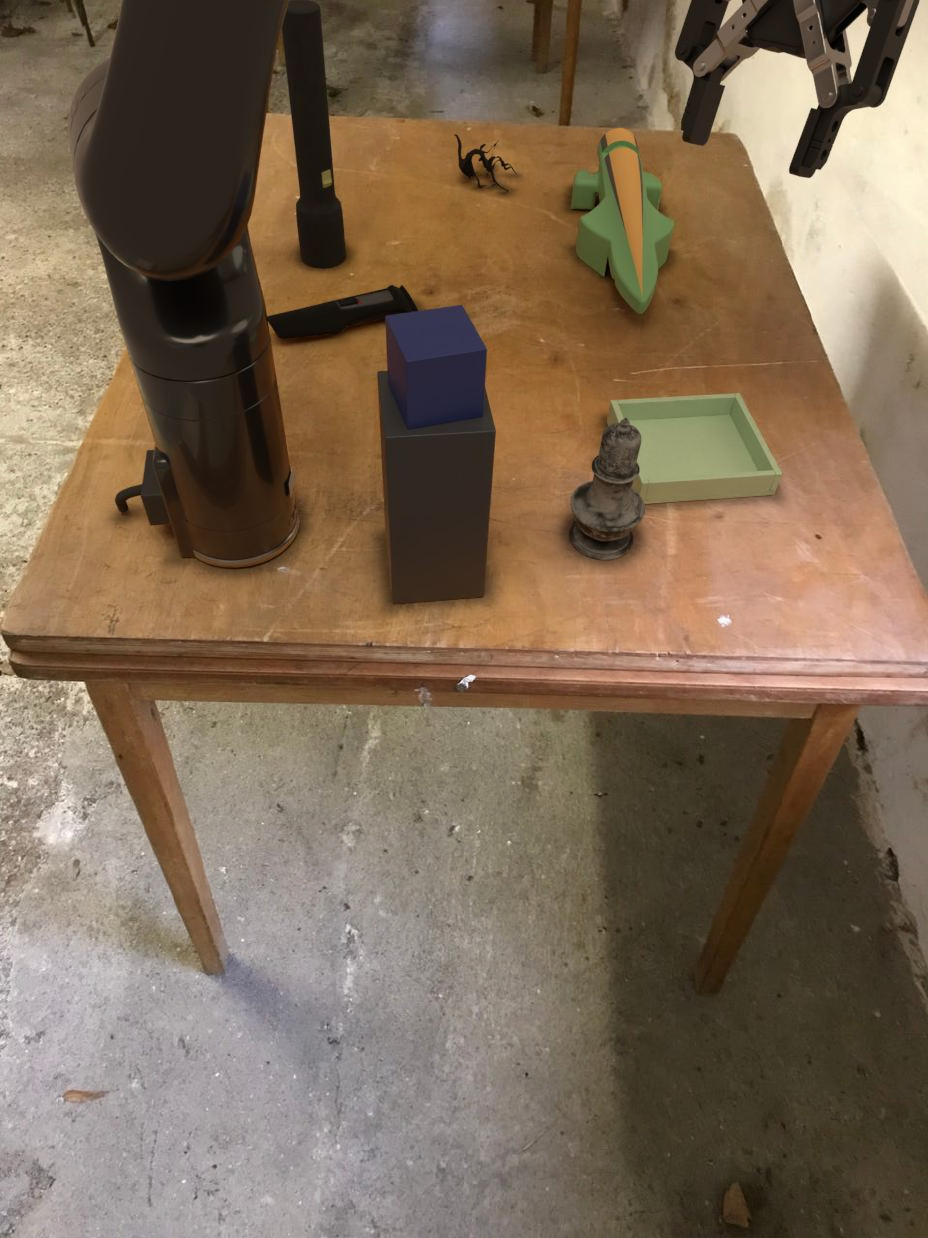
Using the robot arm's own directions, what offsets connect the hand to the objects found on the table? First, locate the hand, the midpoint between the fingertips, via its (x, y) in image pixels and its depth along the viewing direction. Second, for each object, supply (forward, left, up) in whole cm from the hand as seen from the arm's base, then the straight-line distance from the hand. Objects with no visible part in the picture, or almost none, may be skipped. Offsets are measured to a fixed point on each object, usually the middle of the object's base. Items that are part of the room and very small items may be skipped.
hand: (744, 159), depth 60 cm
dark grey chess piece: (-8, -9, -26) cm, 29 cm away
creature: (-8, +54, -26) cm, 61 cm away
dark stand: (-22, -11, -26) cm, 36 cm away
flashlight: (-29, +37, -26) cm, 54 cm away
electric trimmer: (-27, +23, -26) cm, 44 cm away
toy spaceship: (+5, +35, -26) cm, 44 cm away
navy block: (-22, -11, -10) cm, 26 cm away
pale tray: (+2, 0, -26) cm, 26 cm away
